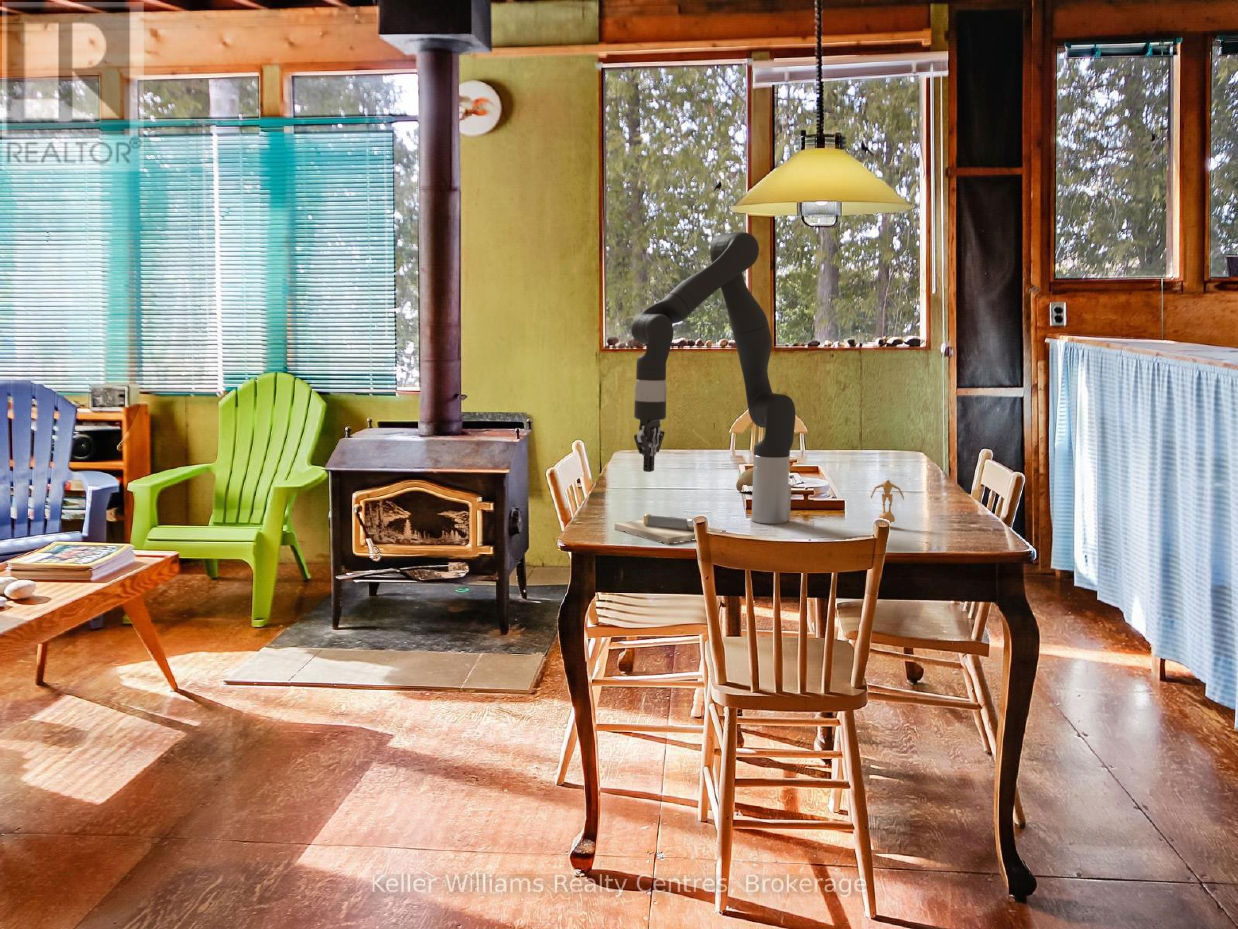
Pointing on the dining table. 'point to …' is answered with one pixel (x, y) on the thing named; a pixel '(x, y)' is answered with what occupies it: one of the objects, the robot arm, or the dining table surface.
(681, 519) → the leg
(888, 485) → the figurine
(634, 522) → the hole board
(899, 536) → the dining table surface
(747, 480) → the bread roll
